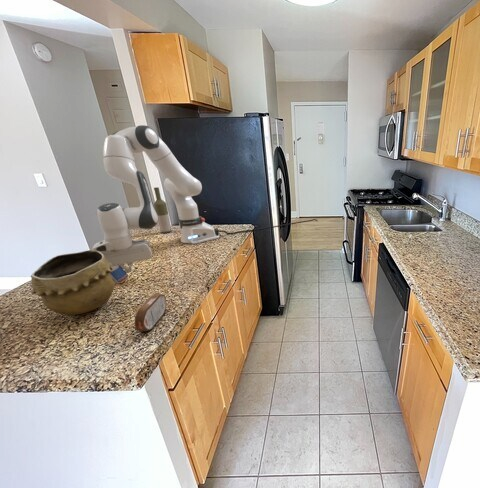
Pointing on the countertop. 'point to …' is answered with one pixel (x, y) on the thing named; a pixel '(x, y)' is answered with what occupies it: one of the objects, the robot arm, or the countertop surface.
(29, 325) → the countertop surface
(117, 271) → the pill bottle
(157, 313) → the brown oval clock
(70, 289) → the clay pot
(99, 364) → the countertop surface
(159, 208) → the bottle
